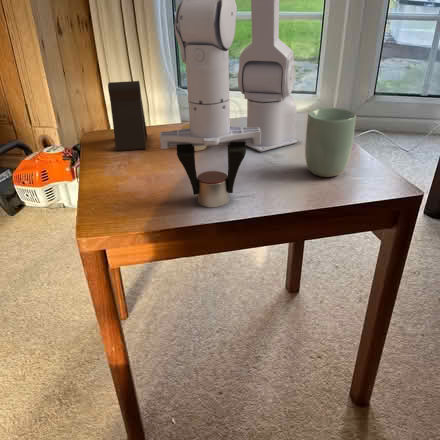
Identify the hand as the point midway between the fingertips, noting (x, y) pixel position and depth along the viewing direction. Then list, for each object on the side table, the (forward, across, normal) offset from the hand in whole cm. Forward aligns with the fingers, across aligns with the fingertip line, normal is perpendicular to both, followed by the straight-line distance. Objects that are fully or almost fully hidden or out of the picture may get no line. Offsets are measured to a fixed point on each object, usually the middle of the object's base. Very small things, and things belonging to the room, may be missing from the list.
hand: (212, 191), depth 71 cm
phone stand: (+2, -16, +30) cm, 34 cm away
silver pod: (+2, 0, 0) cm, 2 cm away
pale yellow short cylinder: (+2, -3, +26) cm, 26 cm away
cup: (+2, +20, +9) cm, 22 cm away
